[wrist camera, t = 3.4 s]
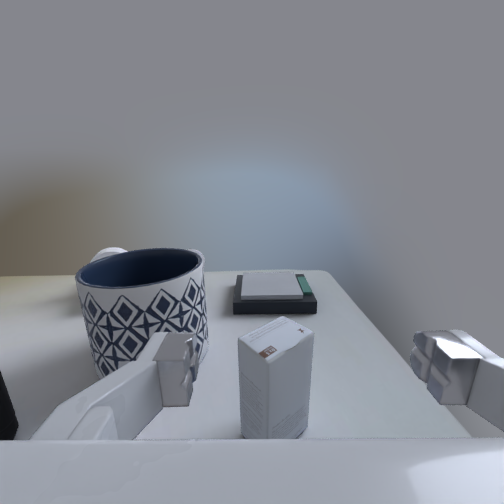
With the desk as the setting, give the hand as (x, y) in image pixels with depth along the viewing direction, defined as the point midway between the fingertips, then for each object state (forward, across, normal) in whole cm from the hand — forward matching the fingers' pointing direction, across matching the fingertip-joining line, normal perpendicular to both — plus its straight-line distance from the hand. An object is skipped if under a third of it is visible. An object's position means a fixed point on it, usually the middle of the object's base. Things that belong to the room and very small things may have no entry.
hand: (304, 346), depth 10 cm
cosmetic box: (+12, 0, +20) cm, 23 cm away
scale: (+43, -2, +20) cm, 48 cm away
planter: (+25, +17, +20) cm, 36 cm away
